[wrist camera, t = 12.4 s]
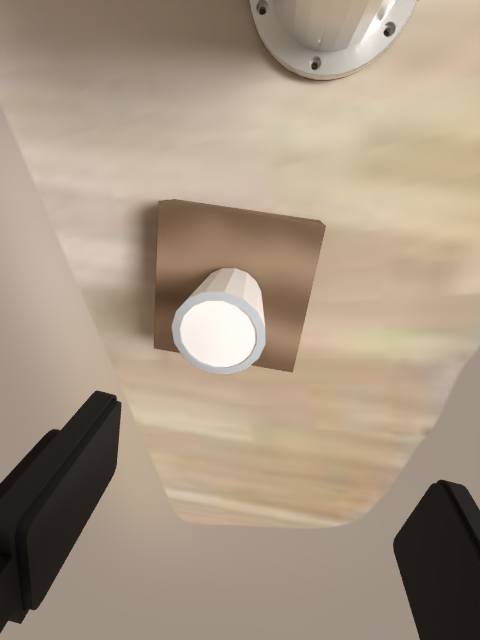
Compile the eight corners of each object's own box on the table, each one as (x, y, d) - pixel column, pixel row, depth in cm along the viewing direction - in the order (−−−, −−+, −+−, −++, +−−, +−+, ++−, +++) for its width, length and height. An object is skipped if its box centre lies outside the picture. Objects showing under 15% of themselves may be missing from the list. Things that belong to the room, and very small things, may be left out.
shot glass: (205, 335, 32) (187, 380, 25) (183, 269, 29) (157, 301, 23) (275, 324, 30) (274, 368, 24) (259, 253, 27) (254, 282, 21)
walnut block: (176, 199, 32) (158, 201, 27) (319, 220, 31) (325, 225, 26) (169, 328, 37) (153, 348, 33) (291, 349, 36) (292, 372, 32)
